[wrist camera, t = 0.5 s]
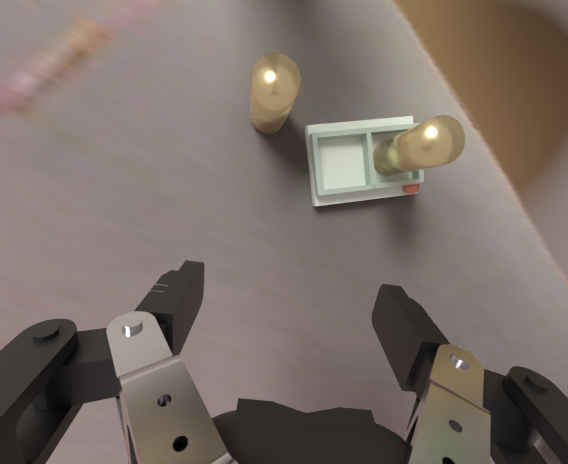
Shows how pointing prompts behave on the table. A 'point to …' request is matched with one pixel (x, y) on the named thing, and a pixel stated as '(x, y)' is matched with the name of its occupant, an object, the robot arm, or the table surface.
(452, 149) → the seated billet
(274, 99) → the billet
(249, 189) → the table surface
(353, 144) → the pale green divided tray
